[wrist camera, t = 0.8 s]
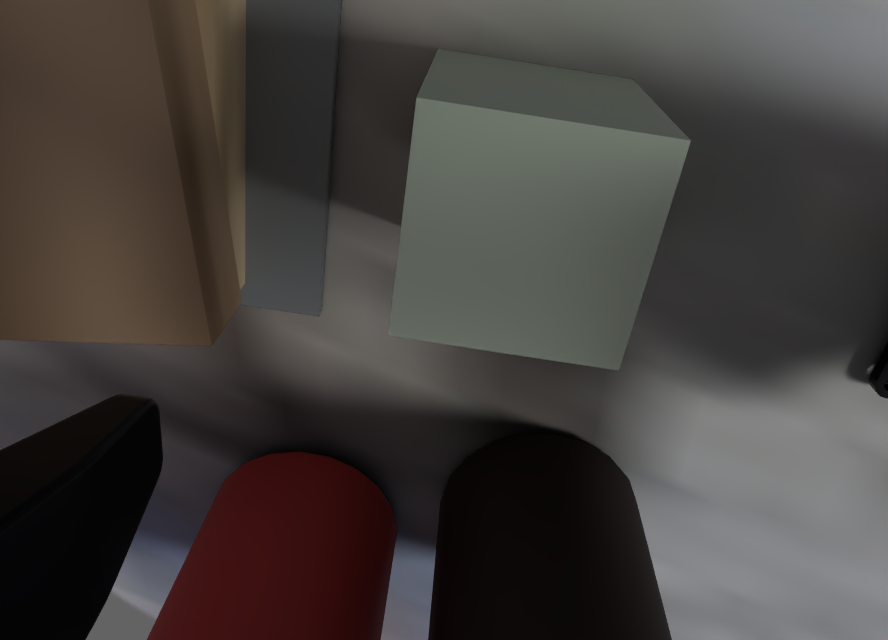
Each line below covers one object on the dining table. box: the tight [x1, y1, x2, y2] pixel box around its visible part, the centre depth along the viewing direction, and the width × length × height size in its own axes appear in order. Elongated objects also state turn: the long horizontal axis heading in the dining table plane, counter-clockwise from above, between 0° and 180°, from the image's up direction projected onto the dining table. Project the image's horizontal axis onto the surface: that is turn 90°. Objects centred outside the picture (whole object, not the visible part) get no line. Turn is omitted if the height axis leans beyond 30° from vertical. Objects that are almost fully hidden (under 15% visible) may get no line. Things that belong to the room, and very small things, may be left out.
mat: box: [240, 0, 342, 316], centre depth 19 cm, size 14×11×1 cm
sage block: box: [388, 49, 691, 371], centre depth 17 cm, size 5×5×6 cm
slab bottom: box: [195, 0, 246, 290], centre depth 17 cm, size 10×10×2 cm
